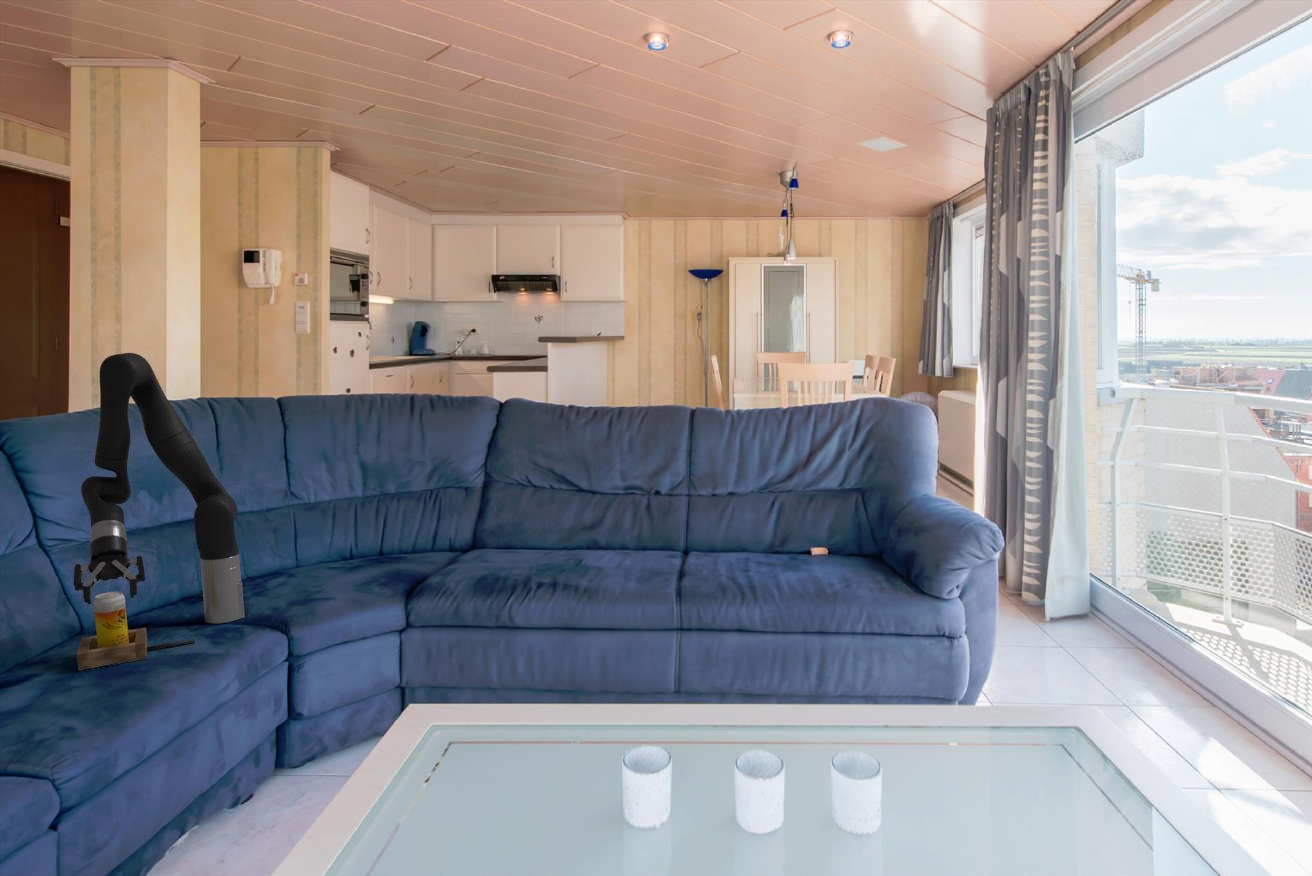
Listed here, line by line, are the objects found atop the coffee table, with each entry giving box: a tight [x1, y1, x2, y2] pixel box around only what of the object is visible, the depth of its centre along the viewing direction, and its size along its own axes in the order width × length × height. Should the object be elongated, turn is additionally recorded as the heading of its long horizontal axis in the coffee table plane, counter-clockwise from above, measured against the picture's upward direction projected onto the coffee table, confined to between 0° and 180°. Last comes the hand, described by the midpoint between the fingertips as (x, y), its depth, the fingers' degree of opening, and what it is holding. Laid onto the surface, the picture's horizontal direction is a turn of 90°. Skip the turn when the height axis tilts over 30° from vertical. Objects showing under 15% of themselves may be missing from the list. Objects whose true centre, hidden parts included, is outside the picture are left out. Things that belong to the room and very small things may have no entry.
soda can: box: [93, 591, 129, 648], centre depth 192 cm, size 6×6×15 cm
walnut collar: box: [76, 627, 196, 671], centre depth 195 cm, size 23×13×4 cm, turn 121°
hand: (111, 599), depth 193 cm, fingers open, 8 cm apart
